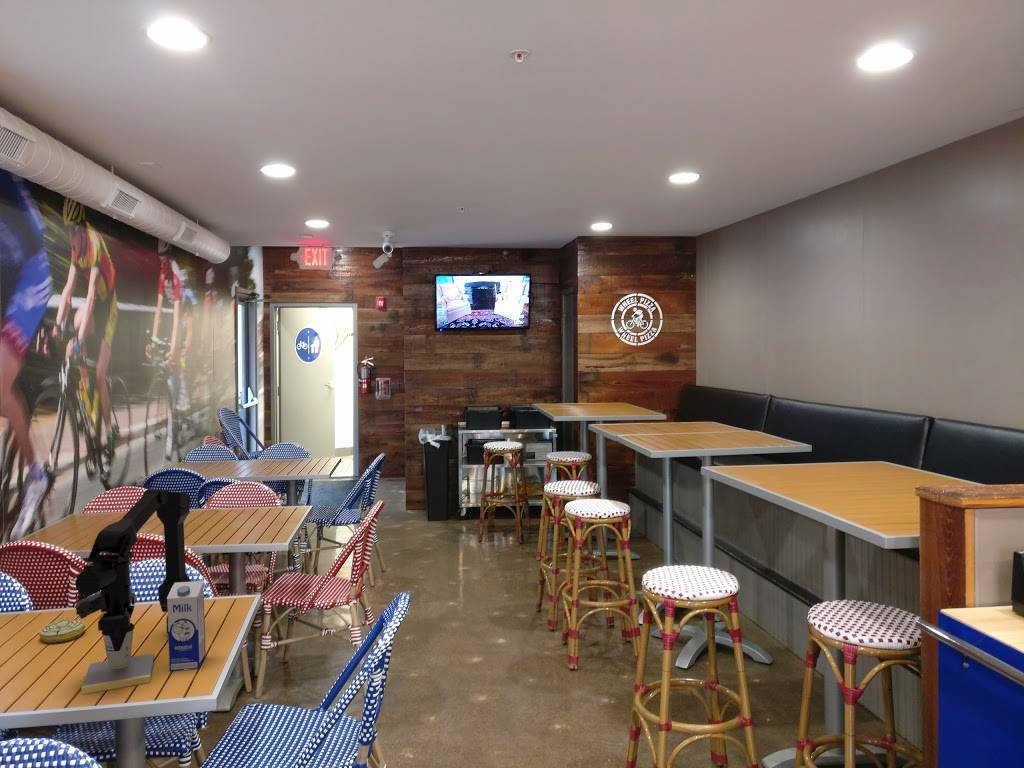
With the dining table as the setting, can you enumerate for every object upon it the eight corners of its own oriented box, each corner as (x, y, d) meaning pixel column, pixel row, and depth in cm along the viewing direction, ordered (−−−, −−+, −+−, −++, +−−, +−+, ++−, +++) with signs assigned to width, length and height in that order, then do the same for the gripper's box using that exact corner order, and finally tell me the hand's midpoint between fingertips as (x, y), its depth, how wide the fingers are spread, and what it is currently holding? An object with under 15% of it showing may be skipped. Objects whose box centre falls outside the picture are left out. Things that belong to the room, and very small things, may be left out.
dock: (154, 659, 180) (153, 653, 180) (150, 682, 167) (150, 676, 167) (90, 669, 174) (90, 663, 174) (81, 694, 161) (81, 688, 161)
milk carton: (206, 657, 181) (204, 579, 180) (199, 668, 174) (197, 588, 173) (176, 659, 179) (174, 581, 179) (168, 671, 173) (166, 590, 172)
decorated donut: (69, 627, 202) (68, 614, 202) (93, 633, 197) (93, 620, 197) (31, 641, 193) (30, 627, 192) (55, 647, 188) (55, 633, 188)
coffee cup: (132, 655, 176) (131, 616, 175) (138, 665, 170) (137, 624, 170) (100, 663, 171) (98, 623, 171) (105, 673, 166) (104, 631, 165)
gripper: (83, 574, 175) (86, 636, 176) (70, 598, 158) (73, 667, 159) (134, 568, 179) (136, 629, 180) (127, 591, 162) (130, 658, 163)
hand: (119, 645), depth 170 cm, fingers closed on coffee cup, 7 cm apart
